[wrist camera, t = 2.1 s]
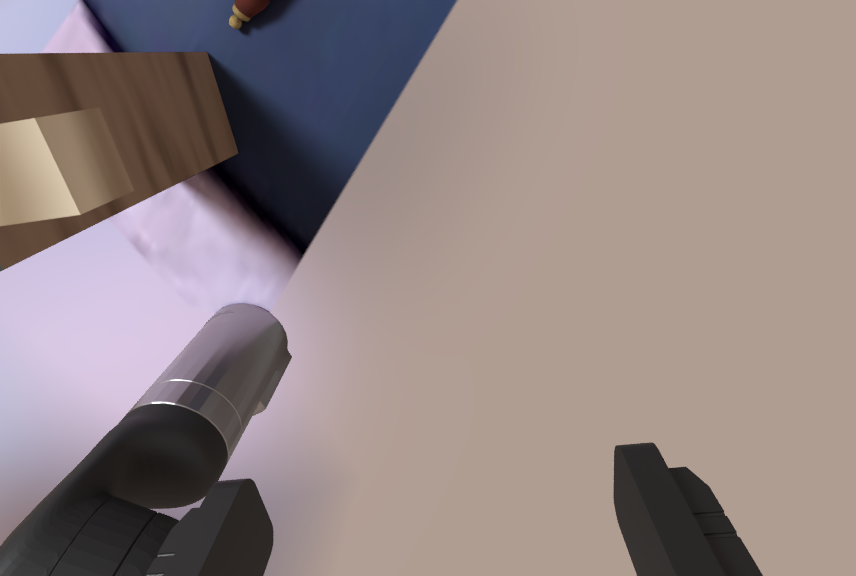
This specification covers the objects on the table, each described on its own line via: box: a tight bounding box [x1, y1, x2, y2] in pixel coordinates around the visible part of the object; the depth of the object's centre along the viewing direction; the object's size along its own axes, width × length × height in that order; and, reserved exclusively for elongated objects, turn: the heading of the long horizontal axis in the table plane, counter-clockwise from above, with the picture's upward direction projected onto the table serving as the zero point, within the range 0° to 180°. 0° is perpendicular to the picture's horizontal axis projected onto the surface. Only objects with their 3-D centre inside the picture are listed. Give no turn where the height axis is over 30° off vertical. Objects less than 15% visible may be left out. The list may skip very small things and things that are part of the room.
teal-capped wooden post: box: [0, 52, 238, 271], centre depth 32 cm, size 8×9×30 cm
